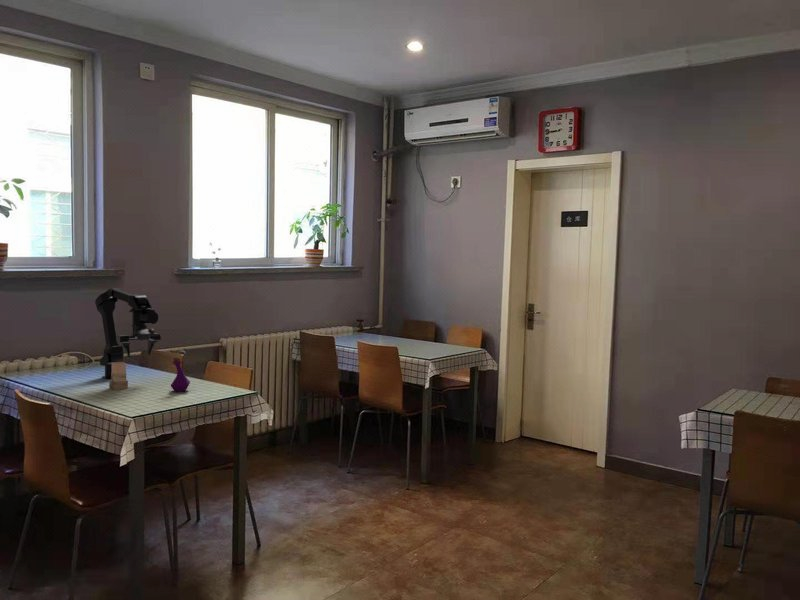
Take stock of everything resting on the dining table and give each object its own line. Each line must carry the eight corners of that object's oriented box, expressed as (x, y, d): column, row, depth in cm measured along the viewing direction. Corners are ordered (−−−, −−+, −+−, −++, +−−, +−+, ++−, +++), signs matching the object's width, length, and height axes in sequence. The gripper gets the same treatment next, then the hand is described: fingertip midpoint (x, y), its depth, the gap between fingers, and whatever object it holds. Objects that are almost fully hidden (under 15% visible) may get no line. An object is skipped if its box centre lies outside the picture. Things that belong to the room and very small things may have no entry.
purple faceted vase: (170, 392, 293) (170, 351, 292) (172, 389, 300) (172, 349, 299) (188, 392, 294) (188, 351, 293) (190, 389, 302) (190, 349, 301)
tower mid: (111, 380, 300) (111, 372, 300) (123, 379, 304) (123, 371, 303) (114, 382, 296) (114, 374, 296) (126, 381, 300) (126, 373, 299)
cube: (111, 372, 300) (111, 362, 300) (121, 371, 303) (121, 361, 303) (115, 374, 297) (115, 364, 296) (125, 373, 300) (125, 363, 299)
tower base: (109, 388, 299) (109, 380, 299) (120, 386, 304) (120, 379, 304) (116, 390, 296) (116, 382, 296) (127, 388, 301) (127, 380, 301)
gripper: (124, 325, 299) (124, 360, 300) (165, 323, 311) (165, 356, 312) (115, 322, 307) (115, 356, 309) (156, 320, 320) (156, 353, 321)
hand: (139, 356), depth 312 cm, fingers open, 9 cm apart
